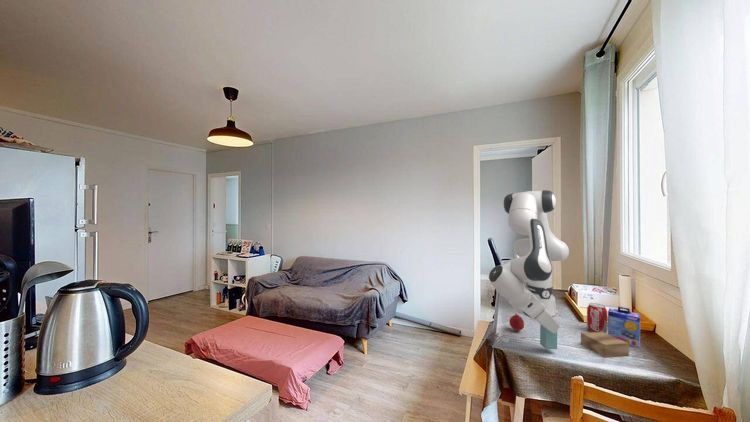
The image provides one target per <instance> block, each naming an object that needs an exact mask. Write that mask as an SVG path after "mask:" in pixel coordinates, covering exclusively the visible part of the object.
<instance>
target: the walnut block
mask: <svg viewBox="0 0 750 422" xmlns="http://www.w3.org/2000/svg"><path fill="white" fill-rule="evenodd" d="M580 346H583V347H584V348H586V349H588V350H590V351H592V352H594V353H596V354H597V355H599V356H601V357H603V358H605V359H606V358H607V359H609V358H623V357H629V355H630V352H629V351H630V345H629V343H627V342H624V341H622V340H620V339H618V338H615V337H613V336H611V335H609V334H608V332H607V333H604V332H591V331H590V332H580Z"/></svg>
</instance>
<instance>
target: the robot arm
mask: <svg viewBox="0 0 750 422" xmlns="http://www.w3.org/2000/svg"><path fill="white" fill-rule="evenodd" d="M502 204H503V208H504V211H505V212H506V213H507V214H508V219H507V221H508V227H509V228H510V229H511V230H512V232H514V233H516V234H519V235H522V236H528V237H526V238H519V239H516V241H515V242H514V244H513V251H514V253H515V254H516V256H518V257H516V258H511V259H508V260H506V261H505V262H504V263H503V264H498V265H496V266H494V267H493V268H492V269H491V270H490V272H489V273H488V279H489V282H490V284H491V286H492V287H493V288H494V289H495V290H496V292H497V293H498V294H500V296H501V297H503V298H505V300H507V302H508V304H510V306H511V307H513V309H514V310H515V311H517V314H518V313H519V314H521V315H524V316H526V317H529V318H530V319H531V320H534V321H535V322H537V323H538V324H539V325H540V324H541V325H542V326H543V327H545V328H546V329H547V330H549V331H550V332H551V333H554V334H555V333H556V332H557V333H558V330H559V329H560V325H559V323H558V322H557V321H556V319H555V318H554V317H553V316H556V314H559V311H558V310H557V308H556V307H557V306H556V297H555V296H554V295H553V294H554V288H553V286H552V285H553V265H552V262H562V261H565V260H567V258H568V257H569V254H570V249H569V248H570V247H568V245H567V243H565V242H564V241H562V240H560V239H559V238H558V237H557V236H555V234H554V233H553V232H552V230H551V229H550V228H551V227H550V225H549V219H548V214H547V213H550V212H552V211H554V210H555V207H556V205H557V199H556V196H555V194H554V192H553V191H551V190H545V189H543V190H527V191H522V192H521V191H520V192H516V193H509V194H507V195H506V196H505V197H504V198H503V203H502Z"/></svg>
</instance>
